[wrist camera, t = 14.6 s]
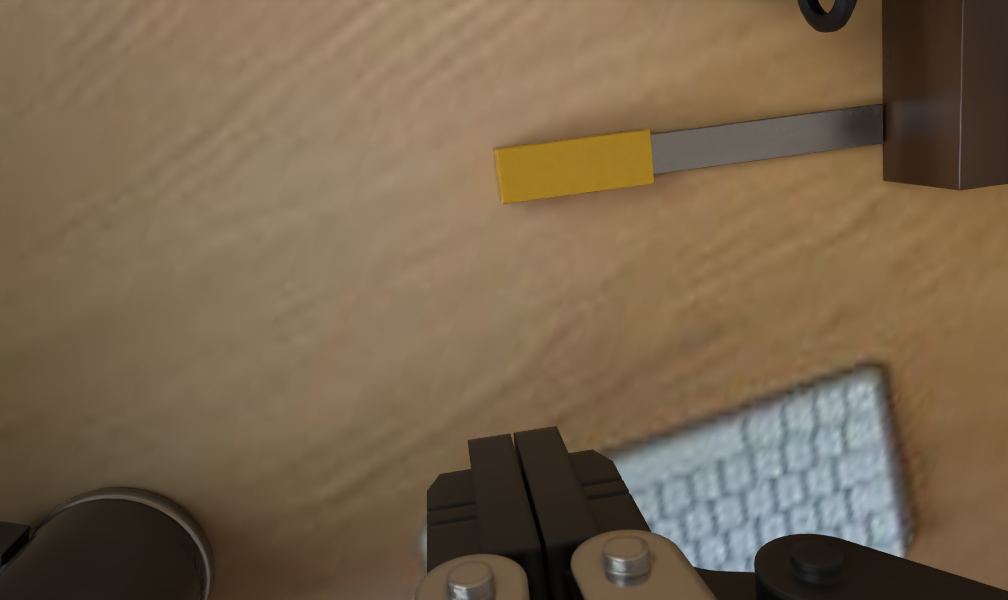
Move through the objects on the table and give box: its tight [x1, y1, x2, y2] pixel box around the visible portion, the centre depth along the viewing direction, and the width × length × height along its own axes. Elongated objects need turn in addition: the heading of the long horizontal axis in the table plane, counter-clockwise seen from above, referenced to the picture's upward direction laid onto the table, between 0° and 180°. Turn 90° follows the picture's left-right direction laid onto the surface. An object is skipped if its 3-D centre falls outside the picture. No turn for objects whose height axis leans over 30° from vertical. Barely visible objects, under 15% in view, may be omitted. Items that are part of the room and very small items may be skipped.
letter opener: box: [494, 104, 883, 204], centre depth 38 cm, size 20×3×2 cm, turn 97°
